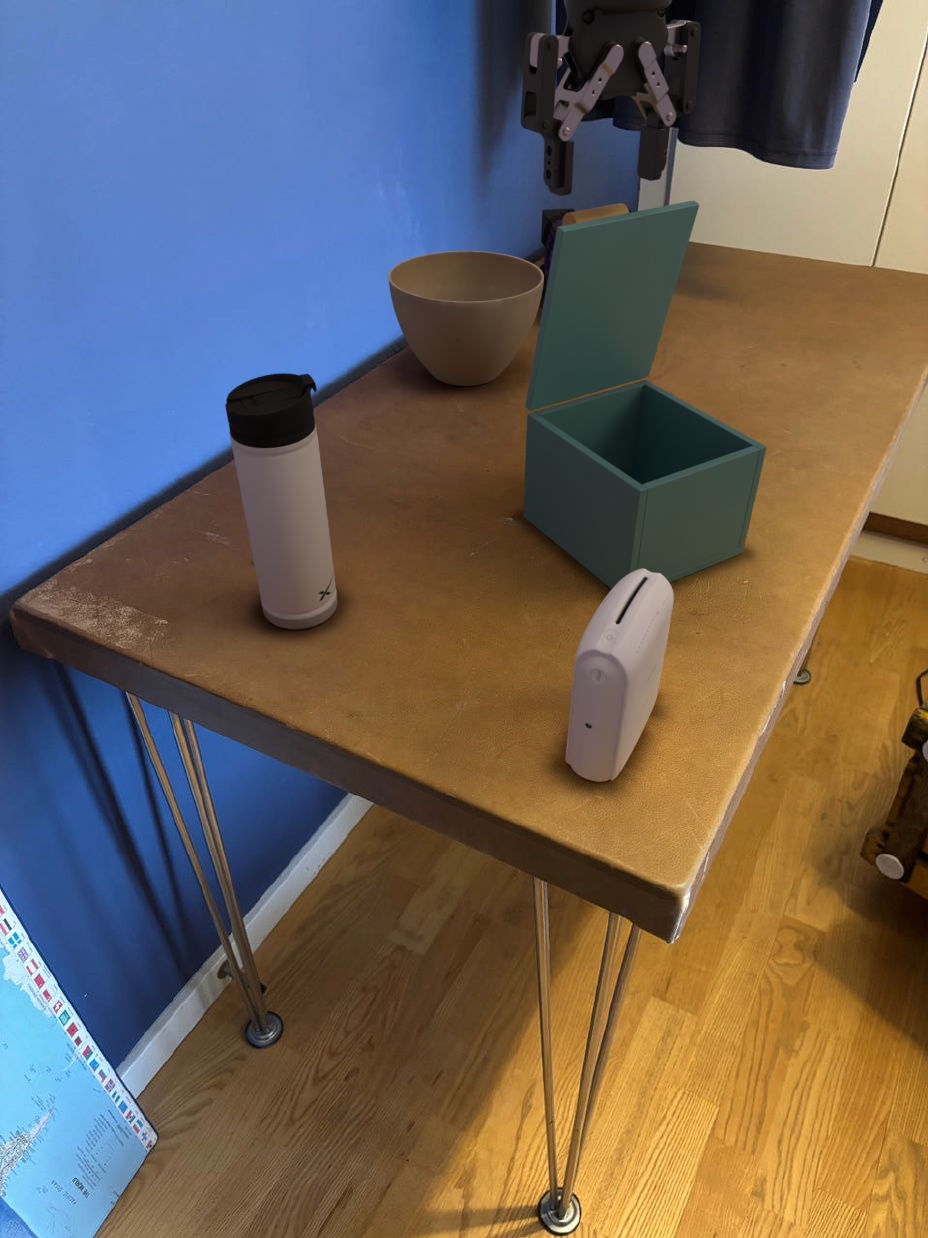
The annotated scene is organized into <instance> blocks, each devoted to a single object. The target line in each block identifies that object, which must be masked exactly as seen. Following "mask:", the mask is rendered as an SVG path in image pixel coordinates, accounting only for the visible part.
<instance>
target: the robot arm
mask: <svg viewBox="0 0 928 1238" xmlns="http://www.w3.org/2000/svg"><path fill="white" fill-rule="evenodd" d="M672 2H673V0H563V4H564V7H565V10H566V24H565V27H564V29H563V32H562V35H561V34H560V35H559V34H558V35H557V34H551V33H550V34H549V33H542V32H535V31H531V32H529V33H528V34H527V36H526V37H525V40H524V53H523V70H522V73H523V74H522V89H521V103H520V104H521V105H520V125H521V127H522V128H523V129H524V130H527V131H530V132H534V133H537V134H539V135H541V137H542V138H543V145H544V146H543V176H542V177H543V178H542V179H543V182H544V185H545V186H547V188H548V191H549V193H551V194H554V195H557V196H560V197H563V196H564V197H565V196H569V195H571V194H572V191H573V175H574V174H573V172H574V153H575V141H574V140H571V138H572V137H573V135H574V133H575V132H576V130H577V128H578V126H579V125H580V123H581V121H582V119H583V118H584V116H585V115H586V114H588V113H590V112H591V111H592V109H593V108H594V106H595V104H596V103H597V101H598V100H599V101H607V100H612V99H614V98H616V97H618V96H623V97H628V98H631V99H632V100H634V102H635V103H636V105H637V107H638V109H639V111H640V114H641V115H642V117H643V120H644V121H645V122H646V123H645V124H641V125H640V134H639V136H640V137H639V144H638V158H637V168H636V172H637V173H636V174H637V176H638V177H639V178H640V179H643V180H646V181H649V182H653V181H658V180H660V179H661V178H662V175H663V172H664V171H665V168H666V166H667V161H668V151H669V150H668V149H669V142H670V141H669V140H670V131H671V127H672V125H673V124H674V123H675V121H676V119H678V118H680V117H682V116H683V115H690V114H692V113H693V112H694V110H695V107H696V102H697V101H696V100H697V88H698V74H699V61H700V50H701V36H702V27H701V24H700V23H699V22H697V21H691V20H686V19H685V20H684V19H671V21H670V22H669V23H668V24H667V21H666V10H667V8H668V7H669V6H670V5H671V4H672ZM662 53H664V55H665V56H664V74H663V72H662V69H661V68H660V65H659V63H658V60H659V59H660V57H661V56H662ZM563 59H564V61H565V63H566V65H567V69H566V70H565V73H564V74H563V76H562V78H561V80H560V81H559V84H558V86H557V77H558V76H557V75H558V69H560V67H562V66H563V63H564V62H563ZM578 88H579V90H578V91H577V89H578Z"/></svg>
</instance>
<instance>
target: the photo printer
mask: <svg viewBox="0 0 928 1238" xmlns="http://www.w3.org/2000/svg"><path fill="white" fill-rule="evenodd" d="M674 601H675V593H674V589H673V587H672V585H671V584H670V583H669V582H668V580H667V579H666V578H665V577H664V576H663V575H662V574H660V573H653V572H650V571H648V570H646V569H638V570H636V571H633V572H631V573H630V574H628V575H626V576H625V577H624V578H622V579H621V580H620V581H619V582H618V583H617V584H616V585H615V586H614V587H613V589H610V591H609V592H608V593H607V595H606V596H605V597H604V598H603V600H602V601H601V603H600V605H599V606H598V607H597V609H596V610H595V613H593V615H592V617H591V618H590V621H589V623H588V624H587V626H586V628H585V629H584V632H583V634H582V636H581V639H580V642H579V645H578V647H577V651H576V654H575V657H574V658H575V660H574V663H573V673H572V674H573V675H572V682H571V683H572V684H571V694H570V695H571V696H570V708H569V718H568V726H567V727H568V729H567V737H566V738H567V740H566V747H565V748H566V749H565V762H566V763H567V764H568V765H570V768H571V769H572V771H573V772H574V773H575V774H576V775H578V776H580V777H581V778H583V779H585V780H588V781H593V782H599V783H601V782H602V783H603V782H607V781H609V780H610V781H614V780H615V779H616V778H617V777H618V776H619V774H620V773H621V772H622V771H623V768H625V765H626V764H627V762H628V760H629V758H630V756H631V755H632V753H633V751H634V749H635V747H636V745H637V743H638V741H639V739H640V737H641V735H642V733H643V731H644V729H645V727H646V725H647V723H648V720H649V718H650V717H651V713H652V712H653V710H654V706H655V704H656V701H657V697H658V694H659V688H660V683H661V678H662V673H663V667H664V661H665V656H666V650H667V643H668V639H669V638H668V637H669V632H670V626H671V620H672V615H673V610H674V604H675V603H674Z"/></svg>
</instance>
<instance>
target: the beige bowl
mask: <svg viewBox="0 0 928 1238" xmlns="http://www.w3.org/2000/svg"><path fill="white" fill-rule="evenodd" d="M543 283H544V275H543V272H542V271H541V270H540V267H538V266H537V265H536V264H534V263H532V262H531V261H528V260H526V259H523V258H522V257H517V256H514V255H511V254H505V253H500V252H492V251H483V250H446V251H438V252H430V253H425V254H420V255H416V256H413V257H410V258H406V259H404V260H402V261H400V262H398V263H397V264H395V265H394V266H393V267H392V268H391V269H390V270H389V272H388V287H389V293H390V299H391V302H392V307H393V311H394V314H395V317H396V320H397V323H398V326H399V327H400V330H401V333H402V334H403V337H404V338H405V341H406V342H407V344H408V346H409V347H410V349H411V351H412V352H413V355H415V357H416V358H417V359H418V361H419V362H420V363H421V364H422V365H423V367H424V368H425V369H426V370H427V372H429V373H430V374H431V375H432V376H433V378H435V379H437V380H438V381H440V382H442V383H445V384H448V385H452V386H460V387H471V386H472V387H473V386H479V385H484V384H487V383H490V382H492V381H494V380H496V379H497V378H498V377H499V376H500V375H501V374H502V373H503V372H504V371H505V370H506V369H507V367H508V366H509V365H510V364H511V362H512V361H513V360H514V359H515V357H516V356H517V355H518V353H519V352H520V350H521V349H522V347H523V346H524V344H525V343H526V340H527V338H528V337H529V335H530V333H531V330H532V328H533V325H534V323H535V320H536V319H537V315H538V312H539V308H540V304H541V295H542V290H543Z"/></svg>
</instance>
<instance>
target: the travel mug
mask: <svg viewBox="0 0 928 1238" xmlns="http://www.w3.org/2000/svg"><path fill="white" fill-rule="evenodd" d="M312 390H313V392H315V393H316V392H318V388H317V384H316V382H315V380H314V378H313V377H312V376H311V375H310V374H309V373H304V374H296V373H287V372H286V373H285V372H281V373H280V372H279V373H271V374H265V375H260V376H258V377H254V378H251V379H249V380H246V381H244V382H242V383H240V384H239V385H237V386H236V387H234V388H233V389H232V390H231V391H230V392H228V394H227V397H226V400H225V401H226V403H225V404H224V407H225V412H226V416H227V422H228V429H229V432H228V433H229V438H230V442H231V448H232V454H233V459H234V463H235V470H236V475H237V480H238V485H239V490H240V495H241V496H240V497H241V502H242V507H243V511H244V517H245V523H246V528H247V533H248V538H249V543H250V549H251V554H252V559H253V565H254V570H255V576H256V580H257V586H258V591H259V596H260V597H259V598H260V602H261V607H262V612H263V616H264V617H265V619H266V620H267V621H268V622H270V623H271V624H272V625H274V626H276V627H279V628H281V629H287V630H303V629H309V628H313V627H315V626H318V625H320V624H322V623H324V622H325V621H327V620H329V619H330V618H331V617H332V616H333V614H334V613H335V611H336V610H337V609H338V601H339V600H338V593H337V587H336V586H337V585H336V584H337V583H336V577H335V568H334V559H333V552H332V551H333V550H332V543H331V535H330V527H329V519H328V511H327V501H326V494H325V487H324V478H323V471H322V469H323V468H322V462H321V454H320V445H319V437H318V432H317V423H316V419H315V415H314V414H315V413H314V411H315V410H314V405H313V401H312Z"/></svg>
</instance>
